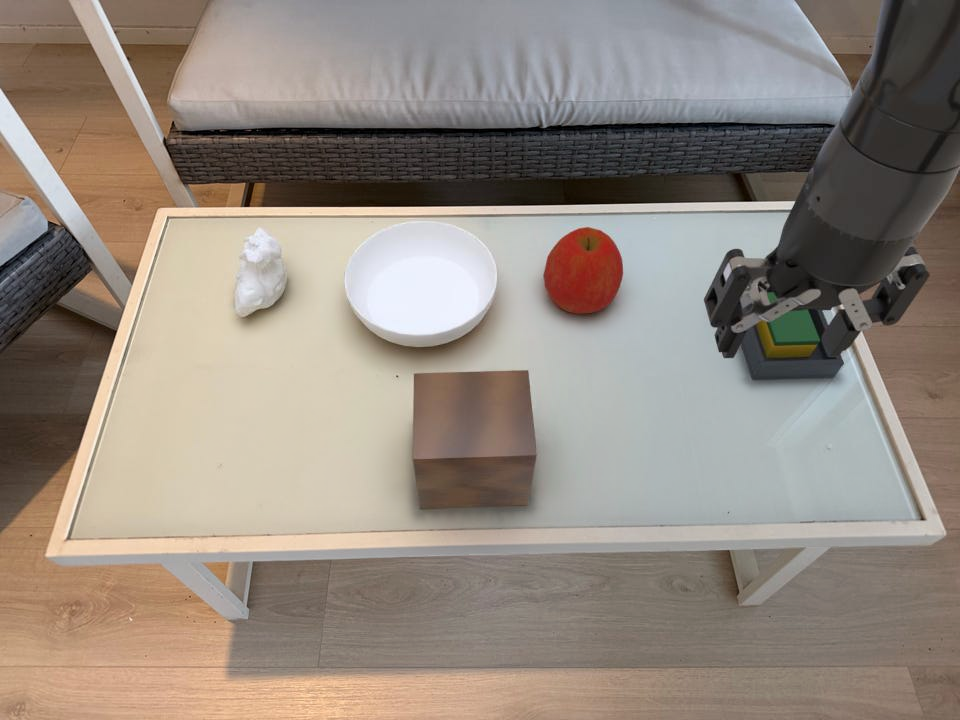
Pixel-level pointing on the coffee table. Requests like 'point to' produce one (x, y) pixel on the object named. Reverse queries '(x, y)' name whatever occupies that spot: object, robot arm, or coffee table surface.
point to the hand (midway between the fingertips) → (777, 349)
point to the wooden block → (473, 439)
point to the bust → (259, 274)
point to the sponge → (788, 334)
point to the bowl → (421, 283)
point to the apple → (583, 271)
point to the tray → (792, 366)
